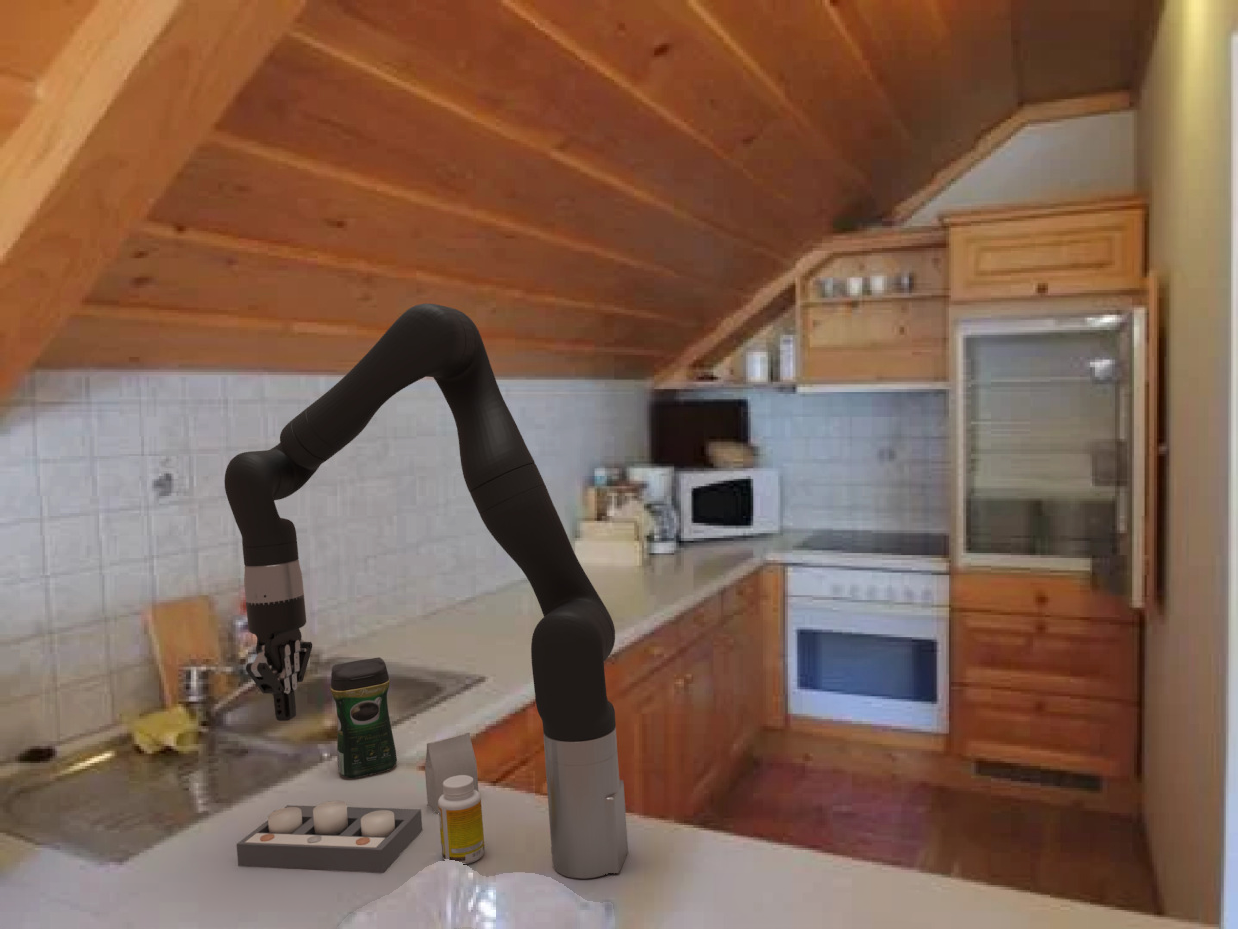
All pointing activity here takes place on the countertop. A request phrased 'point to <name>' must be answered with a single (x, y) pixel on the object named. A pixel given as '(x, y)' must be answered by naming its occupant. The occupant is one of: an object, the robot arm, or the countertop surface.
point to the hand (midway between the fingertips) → (286, 718)
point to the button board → (330, 844)
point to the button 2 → (378, 824)
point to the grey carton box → (448, 765)
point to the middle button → (330, 818)
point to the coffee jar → (363, 718)
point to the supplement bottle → (461, 820)
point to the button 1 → (285, 820)
